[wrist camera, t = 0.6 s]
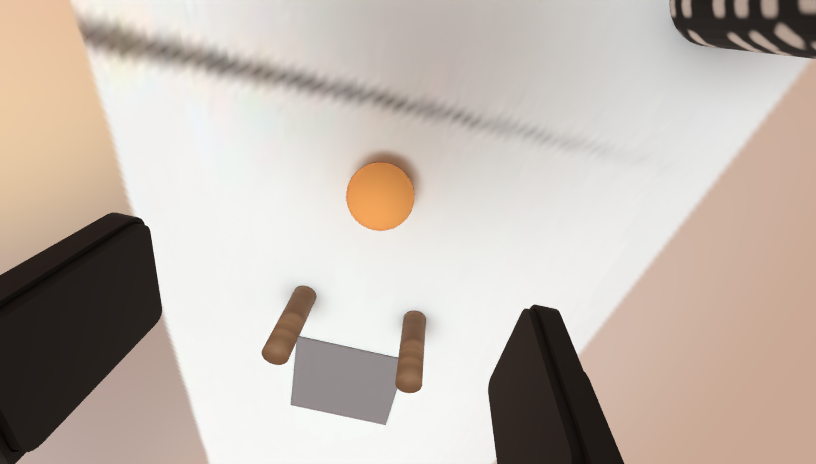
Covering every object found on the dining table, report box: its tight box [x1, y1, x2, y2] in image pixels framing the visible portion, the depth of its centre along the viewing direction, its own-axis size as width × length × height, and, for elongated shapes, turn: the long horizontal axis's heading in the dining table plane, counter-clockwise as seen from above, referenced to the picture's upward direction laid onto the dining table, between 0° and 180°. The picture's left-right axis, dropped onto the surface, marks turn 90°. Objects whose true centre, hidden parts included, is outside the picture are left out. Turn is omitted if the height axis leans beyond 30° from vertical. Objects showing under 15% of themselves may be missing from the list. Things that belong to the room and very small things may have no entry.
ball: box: [346, 162, 414, 231], centre depth 33 cm, size 6×6×6 cm
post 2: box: [395, 311, 426, 393], centre depth 40 cm, size 3×3×9 cm
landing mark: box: [291, 337, 398, 425], centre depth 51 cm, size 14×14×1 cm
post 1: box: [262, 286, 316, 365], centre depth 40 cm, size 3×3×9 cm
